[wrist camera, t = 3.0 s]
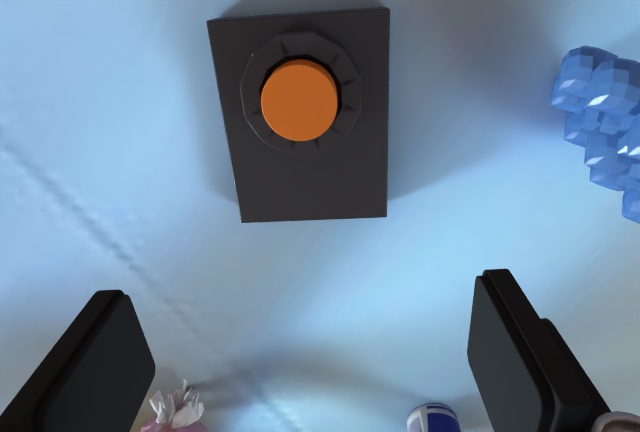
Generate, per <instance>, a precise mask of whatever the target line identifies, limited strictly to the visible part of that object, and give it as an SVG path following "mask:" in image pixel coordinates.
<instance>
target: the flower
mask: <svg viewBox="0 0 640 432" xmlns="http://www.w3.org/2000/svg"><path fill="white" fill-rule="evenodd" d="M186 385H187V380H185V379H184V382H183V388H181V389H176V391H175V392H174V391H173V390H172V395H171V392H170V394H169V393H167V394H168V398H167V399H165V398H163V397H162V394H161V392H160V389H159V390H158V391H157V392H156V393H155V394H154V395H153V397H152V398H151V399H150V400H149V402H150V403H151V405H152V407H153V409H154V410H155V411H156V412H157V413H158V416H155V417H153V418H150V419H148V420H147V421H146V422H145V423H144V425H143V426H142V427H141V432H207V431H206V428H205V427H204V426H203V425H202V424H201V423H197V420H199V418H200V417H201V415H202V413H203V411H204V409H203V403H198V404H197V400H198V397H199V393H200V392H199V393H196V394H194V396H193V398H192V400H191V402H189V401H190V398H191V394H190V390H191V389H190V390H189V391H188V392H187V394H186V395H185V396H184V393H185V389H186ZM191 388H192V387H191ZM183 398H184V400H183ZM196 404H197V405H196Z"/></svg>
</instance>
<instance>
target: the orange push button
mask: <svg viewBox="0 0 640 432" xmlns="http://www.w3.org/2000/svg"><path fill="white" fill-rule="evenodd" d="M261 107H262V112H263V115H264V117H265V119H266V121H267V123H268V124H269V126H270V127H271V128H272V129H273V130H274V131H275V132H276V133H278V134H279V135H281V136H282V137H284V138H287V139H290V140H294V141H307V140H311V139H314V138H316V137H318V136H320V135H321V134H323V133H324V132H325V131H326V130H327V129H328V128H329V127H330V126H331V124H332V122H333V120H334V118H335V115H336V112H337V89H336V85H335V83H334V80H333V79H332V77H331V75H330V74H329V73H328V72H327V70H326V69H324V68H323V67H322V66H321V65H319V64H317V63H315V62H313V61H310V60H304V59H297V60H291V61H288V62H286V63H284V64H282V65H281V66H279V67H278V68H277V69H276V70H275V71H274V72H273V73H272V75H271V76H270V78H269V79H268V80H267V82H266V84H265V86H264V88H263V91H262V96H261Z"/></svg>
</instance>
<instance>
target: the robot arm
mask: <svg viewBox="0 0 640 432" xmlns="http://www.w3.org/2000/svg"><path fill="white" fill-rule="evenodd" d="M467 354H468V361H469V365H470V367H471V370H472V373H473V376H474V378H475V381H476V384H477V386H478V389H479V392H480V394H481V397H482V400H483V403H484V405H485V408H486V411H487V413H488V416H489V419H490V421H491V424H492V427H493V429H494V432H640V416H637V415H634V414H631V413H625V412H618V411H617V412H611V410H610V409H609V407H608V406H607V404H606V403H605V401H604V400H603V398H602V397H601V395H600V394H599V392H598V391H597V389H596V388H595V386H594V385H593V383H592V382H591V380H590V379H589V377H588V376H587V374H586V373H585V371H584V370H583V368H582V367H581V365H580V364H579V362H578V361H577V359H576V358H575V356H574V355H573V353H572V352H571V350H570V349H569V347H568V346H567V344H566V343H565V341H564V340H563V338H562V337H561V335H560V334H559V332H558V331H557V329H556V328H555V326H554V325H553V324H552V322H551V321H550V320H548V319H546V318H544V319H540V318H539V316H538V315H537V313H536V311H535V310H534V308H533V307H532V305H531V304H530V302H529V300H528V299H527V297H526V296H525V294H524V293H523V291H522V289H521V288H520V286H519V285H518V283H517V282H516V280H515V278H514V277H513V275H512V274H511V272H510V271H509V270H508V269H493V270H484V272H483V274H482V276H477V277H476V280H475V288H474V297H473V306H472V314H471V323H470V332H469V340H468V349H467ZM154 375H155V363H154V360H153V357H152V355H151V352H150V349H149V347H148V344H147V341H146V339H145V336H144V333H143V331H142V328H141V325H140V323H139V320H138V317H137V315H136V312H135V309H134V307H133V304H132V301H131V299H130V297H129V296H128V295H124V293H123V292H122V291H121V290H101V291H97V292H96V293H95V294H94V295H93V296H92V298H91V299H90V300H89V301H88V303H87V304H86V305H85V307H84V308H83V309H82V311H81V312H80V313H79V314H78V316H77V317H76V318H75V320H74V321H73V322H72V324H71V325H70V326H69V327H68V329H67V330H66V331H65V333H64V334H63V335H62V336H61V338H60V339H59V340H58V342H57V343H56V344H55V346H54V347H53V348H52V349H51V351H50V352H49V353H48V355H47V356H46V357H45V359H44V360H43V361H42V362H41V364H40V365H39V366H38V368H37V369H36V370H35V372H34V373H33V374H32V375H31V377H30V378H29V379H28V381H27V382H26V383H25V385H24V386H23V387H22V388H21V390H20V391H19V392H18V394H17V395H16V396H15V397H14V399H13V400H12V401H11V403H10V404H9V405H8V407H7V408H6V409H5V410H4V412H3V413H2V414H1V416H0V432H129V431H130V429H131V427H132V425H133V422H134V420H135V418H136V416H137V414H138V411H139V409H140V407H141V405H142V403H143V400H144V398H145V396H146V394H147V391H148V389H149V387H150V385H151V383H152V380H153V378H154Z"/></svg>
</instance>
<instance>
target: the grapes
mask: <svg viewBox="0 0 640 432" xmlns="http://www.w3.org/2000/svg"><path fill="white" fill-rule="evenodd" d="M551 105H553V106H555V107H557V108H560V109H562V110H565V111H568V112H569V113H568V116H567V119H566V123H565V130H564V140H566V141H568V142H571V143H573V144H576V145H579V146H582V147H586V149H585V161H584V165H587V166H589V167H591V170H590V181H591V182H594V183H596V184H598V185H600V186H603V187H606V188H609V189H612V190H616V191H625V192H624V195H623V201H622V216H623V217H625V218H627V219H629V220H631V221H634V222H636V223H639V224H640V63H638V62H636V61H633V60H628V59H622V58H617V56H616V55H614V54H612V53H609V52H607V51H604V50H602V49H599V48H595V47H589V46H583V47H580V48H576V49H573V50H570V51H569V52H568V54H567V55H566V56H565V57H564V59H563V61H562V65H561V69H560V73H559V74H558V75H557V77H556V79H555V82H554V86H553V91H552V100H551Z"/></svg>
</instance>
